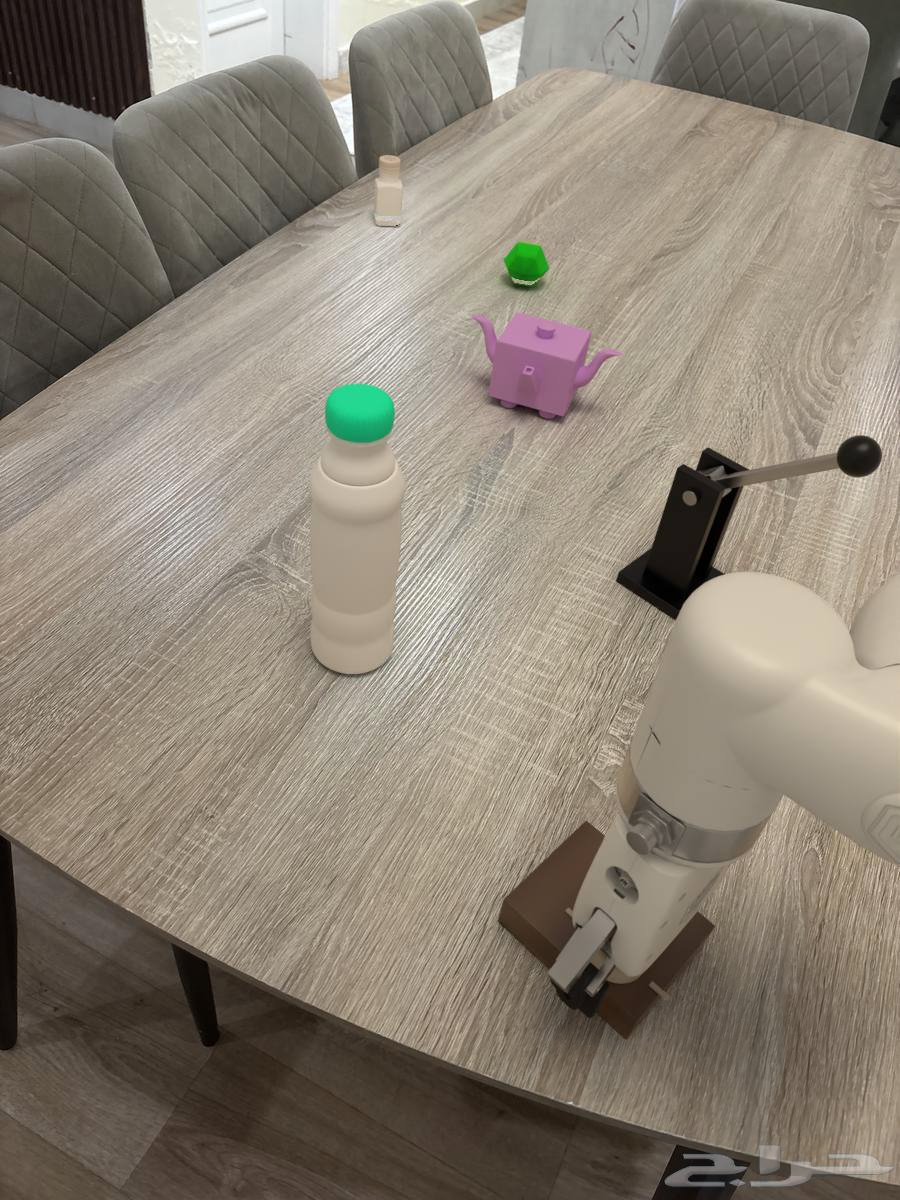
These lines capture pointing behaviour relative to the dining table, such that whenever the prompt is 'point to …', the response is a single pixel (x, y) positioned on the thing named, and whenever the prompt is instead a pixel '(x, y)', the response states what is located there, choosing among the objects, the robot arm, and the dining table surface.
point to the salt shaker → (388, 189)
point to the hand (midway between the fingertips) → (620, 944)
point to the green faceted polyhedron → (526, 262)
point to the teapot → (539, 363)
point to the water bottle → (355, 532)
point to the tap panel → (547, 926)
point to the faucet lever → (808, 465)
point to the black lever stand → (685, 537)
